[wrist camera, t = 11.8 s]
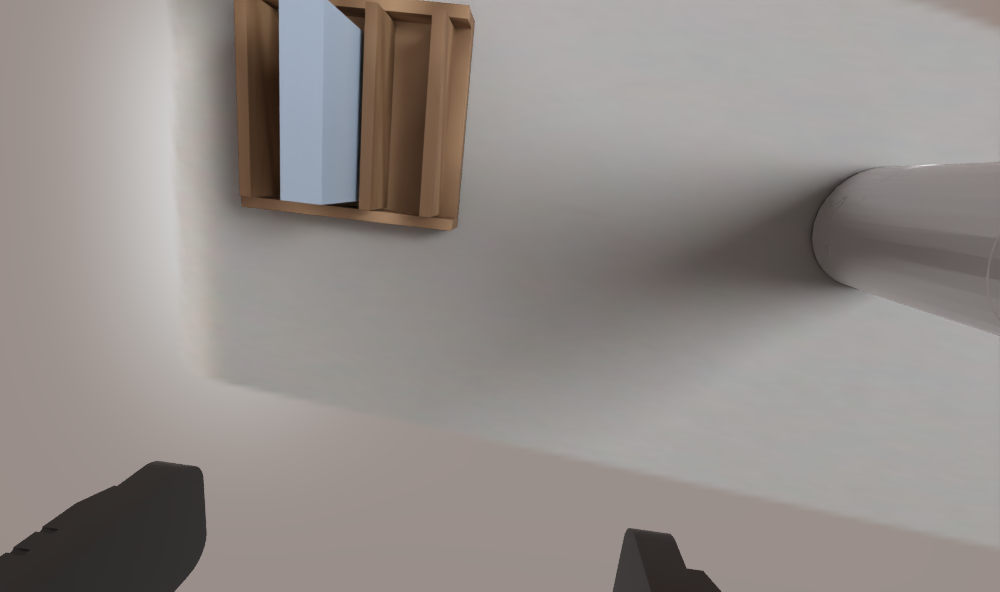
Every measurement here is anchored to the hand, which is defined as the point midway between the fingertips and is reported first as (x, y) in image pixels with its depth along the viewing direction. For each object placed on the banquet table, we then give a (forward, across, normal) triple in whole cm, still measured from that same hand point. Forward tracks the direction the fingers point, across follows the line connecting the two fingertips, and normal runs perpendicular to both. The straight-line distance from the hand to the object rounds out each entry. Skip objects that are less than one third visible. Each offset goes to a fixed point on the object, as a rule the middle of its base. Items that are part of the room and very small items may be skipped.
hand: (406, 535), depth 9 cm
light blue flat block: (+29, +12, -10) cm, 33 cm away
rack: (+30, +12, -10) cm, 34 cm away
